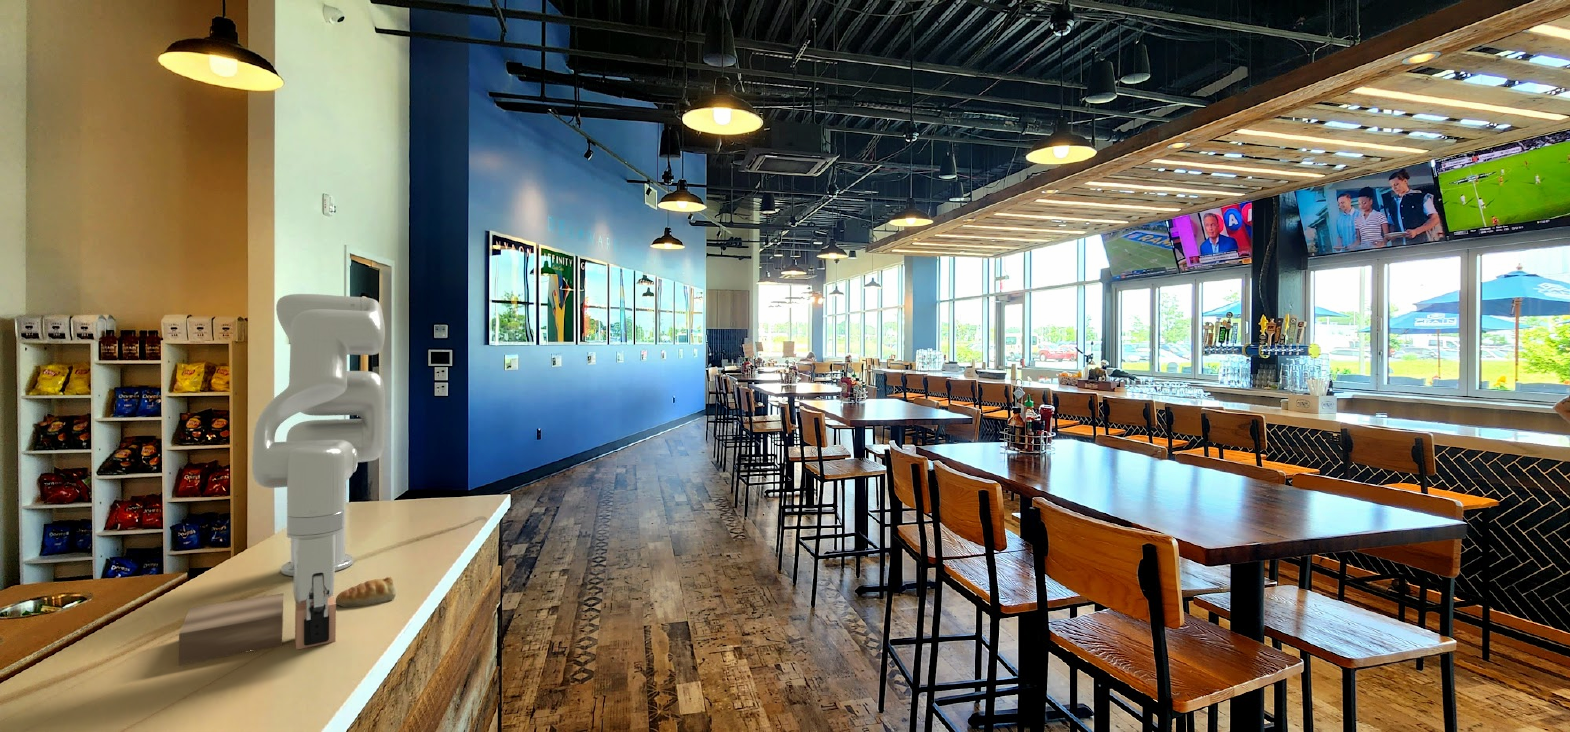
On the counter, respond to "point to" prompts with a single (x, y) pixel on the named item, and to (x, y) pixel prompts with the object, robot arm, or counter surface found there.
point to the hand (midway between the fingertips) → (315, 635)
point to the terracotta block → (301, 615)
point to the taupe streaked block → (231, 628)
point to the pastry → (368, 593)
